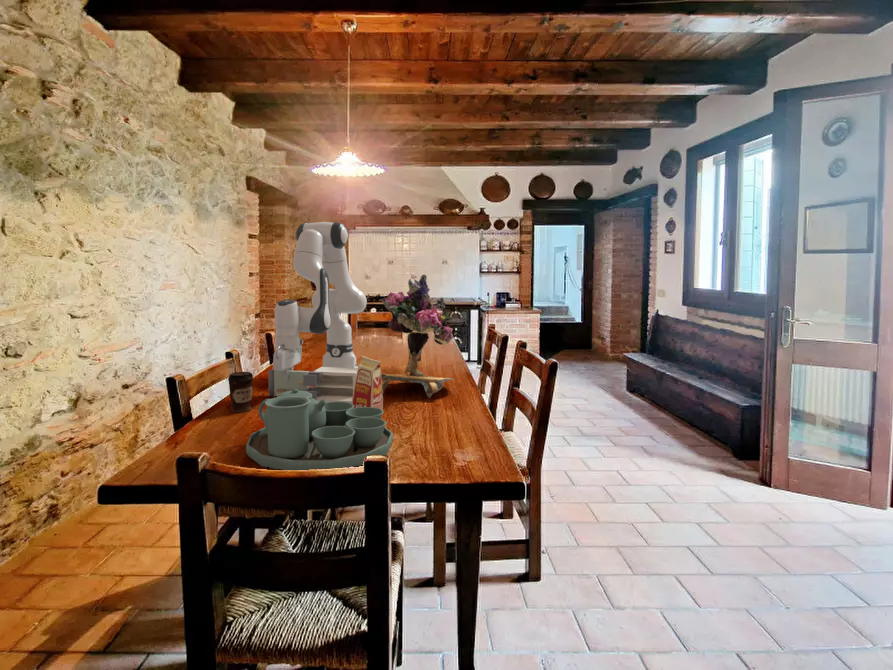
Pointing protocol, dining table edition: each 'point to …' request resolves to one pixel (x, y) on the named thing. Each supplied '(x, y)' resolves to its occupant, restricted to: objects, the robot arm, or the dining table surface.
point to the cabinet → (331, 384)
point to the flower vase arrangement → (423, 319)
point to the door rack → (282, 391)
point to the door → (285, 381)
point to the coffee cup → (240, 390)
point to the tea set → (316, 433)
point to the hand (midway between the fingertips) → (287, 378)
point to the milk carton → (368, 385)
